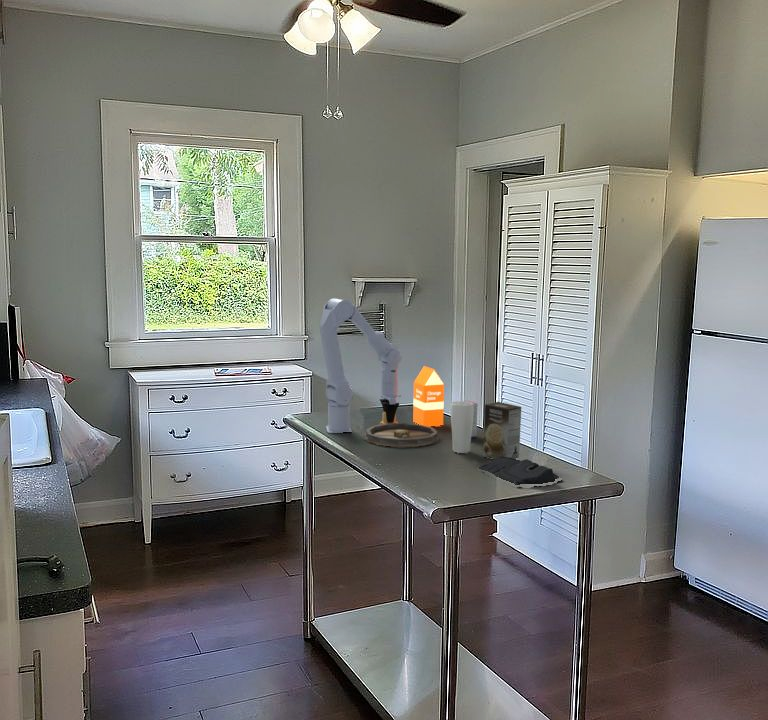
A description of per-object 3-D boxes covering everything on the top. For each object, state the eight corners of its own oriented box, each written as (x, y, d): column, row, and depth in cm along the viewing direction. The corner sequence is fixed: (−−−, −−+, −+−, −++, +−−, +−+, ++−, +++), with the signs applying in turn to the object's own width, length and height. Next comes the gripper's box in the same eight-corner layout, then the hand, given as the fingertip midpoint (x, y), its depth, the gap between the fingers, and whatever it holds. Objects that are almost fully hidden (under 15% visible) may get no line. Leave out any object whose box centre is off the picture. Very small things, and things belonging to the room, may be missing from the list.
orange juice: (423, 427, 269) (424, 369, 266) (412, 422, 277) (413, 366, 274) (443, 425, 272) (444, 368, 269) (432, 420, 280) (433, 365, 277)
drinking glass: (476, 454, 234) (477, 404, 232) (454, 455, 232) (456, 405, 230) (467, 448, 241) (468, 400, 239) (446, 449, 239) (447, 401, 237)
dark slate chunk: (516, 464, 225) (516, 448, 225) (567, 484, 206) (568, 467, 206) (471, 471, 218) (472, 454, 218) (521, 492, 199) (521, 474, 198)
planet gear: (378, 423, 274) (378, 411, 273) (396, 423, 275) (396, 410, 274) (381, 427, 268) (381, 414, 267) (399, 427, 269) (399, 414, 268)
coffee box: (482, 457, 230) (483, 404, 228) (496, 454, 235) (497, 401, 232) (506, 464, 224) (508, 408, 221) (520, 460, 228) (522, 406, 226)
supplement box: (477, 437, 255) (478, 403, 253) (461, 439, 252) (462, 404, 251) (467, 434, 260) (468, 400, 258) (452, 435, 257) (453, 401, 256)
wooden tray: (360, 430, 263) (360, 423, 262) (430, 429, 266) (430, 421, 266) (369, 448, 239) (369, 440, 239) (446, 446, 243) (446, 438, 243)
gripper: (404, 385, 263) (404, 425, 265) (397, 378, 277) (397, 416, 279) (384, 385, 262) (383, 425, 264) (377, 378, 276) (377, 416, 278)
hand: (389, 420), depth 271 cm, fingers closed on planet gear, 4 cm apart
